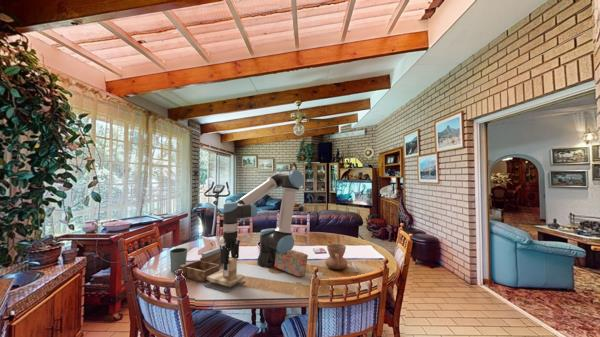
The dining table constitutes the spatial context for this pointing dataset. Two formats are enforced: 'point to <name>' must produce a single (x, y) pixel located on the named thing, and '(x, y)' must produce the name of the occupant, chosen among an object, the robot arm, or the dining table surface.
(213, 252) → the light grey bar
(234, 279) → the lid
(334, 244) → the ceramic jug
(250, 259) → the dining table surface
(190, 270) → the brown wooden open box
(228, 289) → the mat
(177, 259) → the grey cup
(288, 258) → the brown patterned box
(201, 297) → the dining table surface
